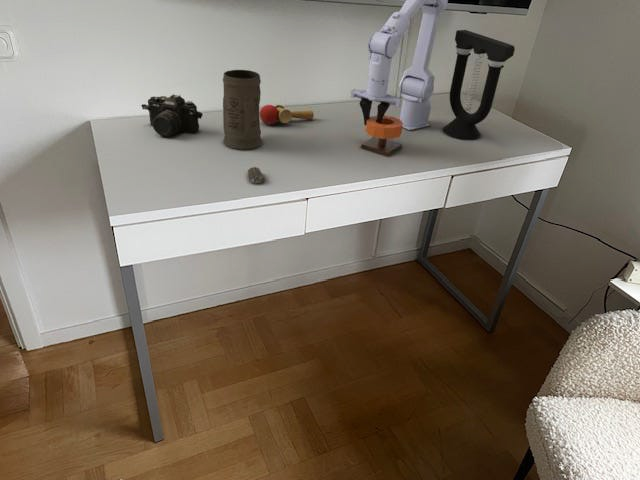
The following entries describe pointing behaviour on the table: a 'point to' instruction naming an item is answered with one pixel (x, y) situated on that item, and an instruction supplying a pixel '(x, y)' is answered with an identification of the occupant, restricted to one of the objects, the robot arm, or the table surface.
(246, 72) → the beer stein
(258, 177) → the block
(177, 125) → the film camera
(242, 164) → the table surface
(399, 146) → the stand
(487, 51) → the spring support
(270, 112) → the kendama
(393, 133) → the ring
